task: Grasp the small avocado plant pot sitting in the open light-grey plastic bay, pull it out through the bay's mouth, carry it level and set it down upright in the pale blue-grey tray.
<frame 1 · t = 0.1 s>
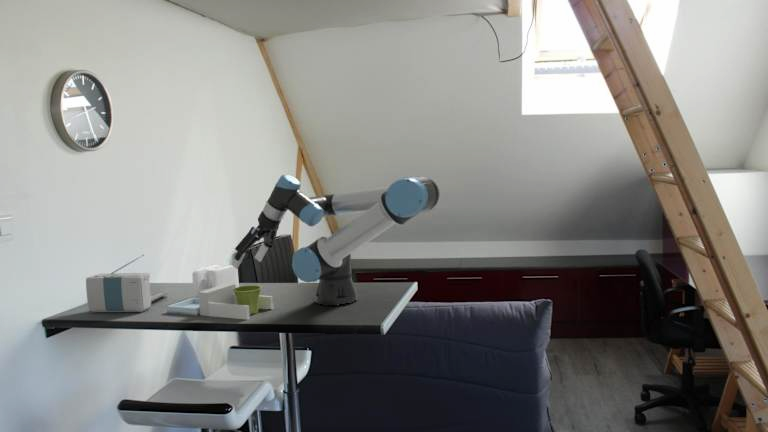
hand: (246, 263, 211), 15 cm above the table, tool tilted 35°, fingers open, 13 cm apart
stereo radio cassette player: (121, 311, 211), on the table
plant pot: (249, 313, 200), on the table
bay: (241, 312, 201), on the table
cable organizer: (216, 297, 228), on the table
tray: (195, 309, 208), on the table
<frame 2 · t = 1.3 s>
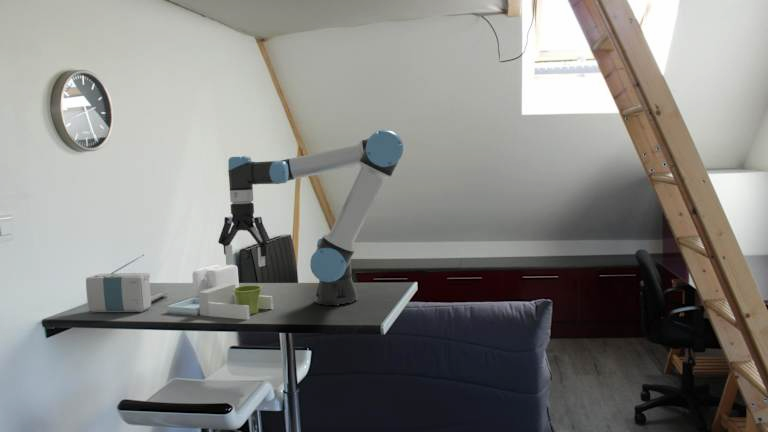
hand: (245, 265, 199), 17 cm above the table, tool pointing down, fingers open, 13 cm apart
nothing on the table moved.
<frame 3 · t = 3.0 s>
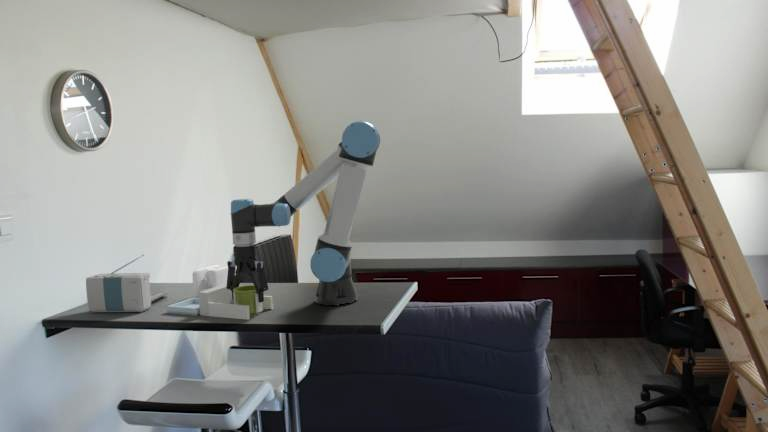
hand: (248, 310, 200), 1 cm above the table, tool pointing down, fingers closed on plant pot, 8 cm apart
plant pot: (248, 313, 200), on the table, touching gripper
everything else where it was.
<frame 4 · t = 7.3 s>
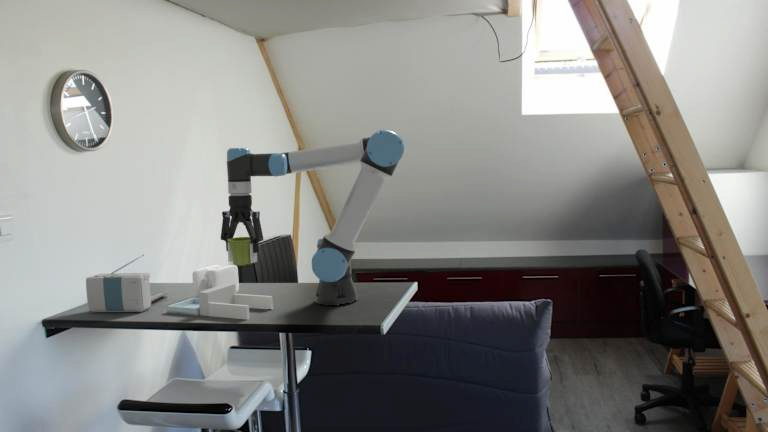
hand: (242, 261, 198), 18 cm above the table, tool pointing down, fingers closed on plant pot, 8 cm apart
plant pot: (243, 264, 198), point 17 cm above the table, touching gripper
everything else where it was.
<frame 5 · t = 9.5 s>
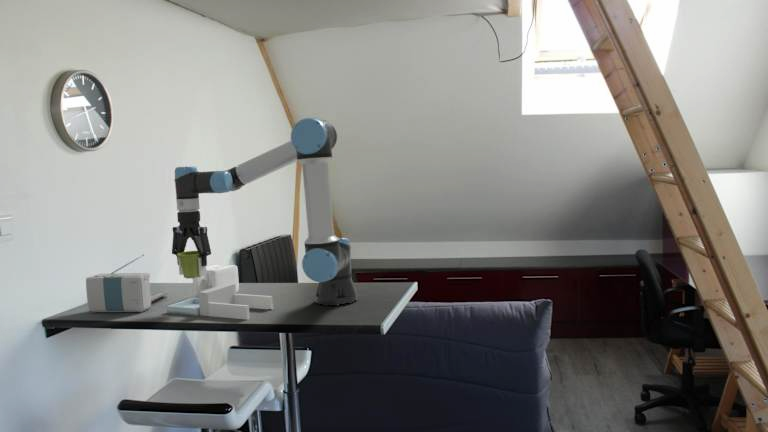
hand: (192, 274, 207), 13 cm above the table, tool pointing down, fingers closed on plant pot, 8 cm apart
plant pot: (193, 277, 207), point 12 cm above the table, touching gripper
everything else where it was.
when the fingers open (3 cm above the table, at t = 11.5 s): plant pot drops 2 cm, resting on tray.
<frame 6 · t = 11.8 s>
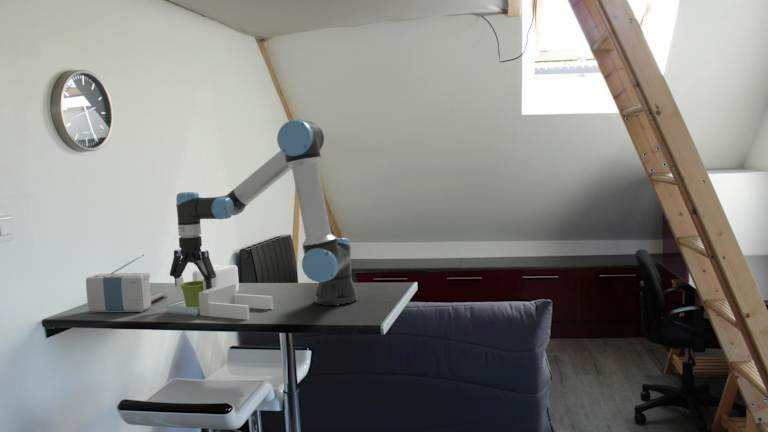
hand: (193, 297, 208), 5 cm above the table, tool pointing down, fingers open, 12 cm apart
plant pot: (195, 308, 208), point 1 cm above the table, touching tray
everything else where it was.
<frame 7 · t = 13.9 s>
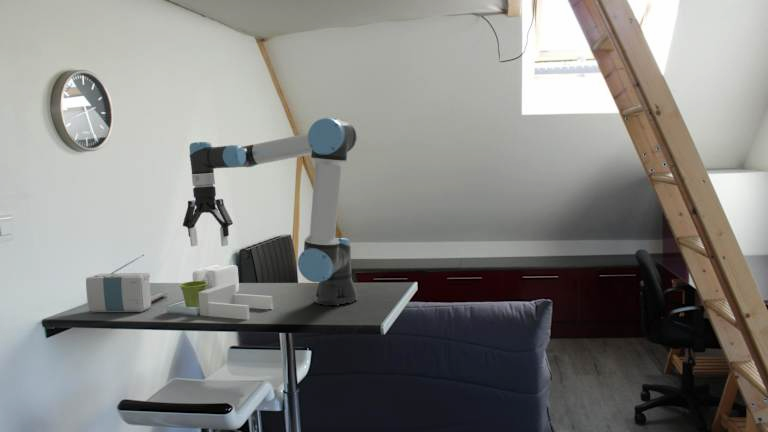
hand: (209, 245, 209), 22 cm above the table, tool pointing down, fingers open, 13 cm apart
nothing on the table moved.
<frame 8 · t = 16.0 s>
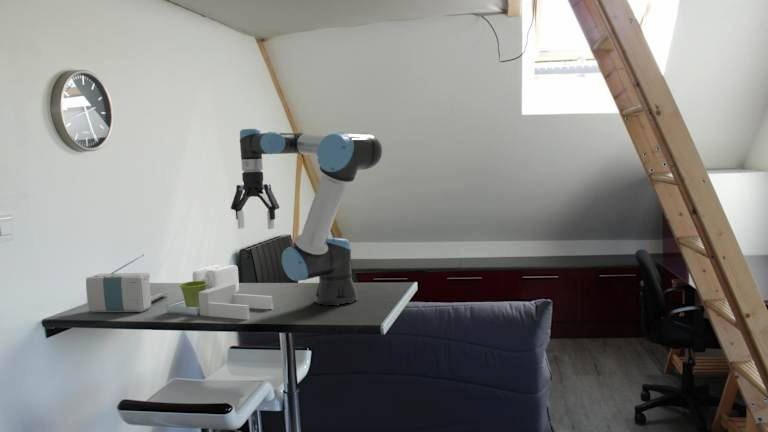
hand: (256, 228, 218), 27 cm above the table, tool pointing down, fingers open, 13 cm apart
nothing on the table moved.
at the end: plant pot inside the target area on the tray (0.4 cm from its centre), point 0.6 cm above the tray's base; plant pot tilted 0°; the gripper is holding nothing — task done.
